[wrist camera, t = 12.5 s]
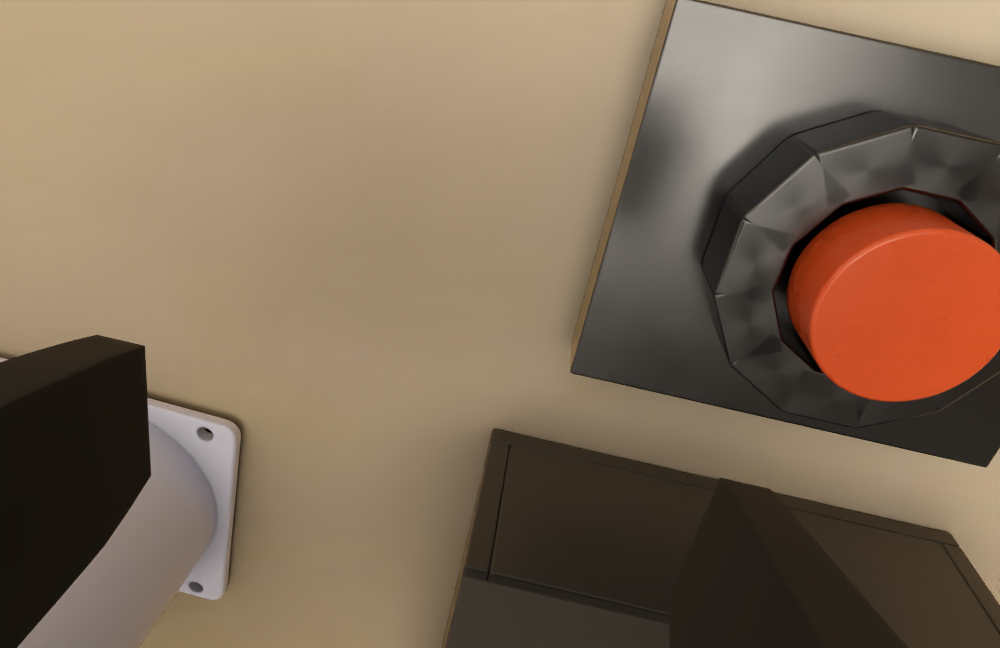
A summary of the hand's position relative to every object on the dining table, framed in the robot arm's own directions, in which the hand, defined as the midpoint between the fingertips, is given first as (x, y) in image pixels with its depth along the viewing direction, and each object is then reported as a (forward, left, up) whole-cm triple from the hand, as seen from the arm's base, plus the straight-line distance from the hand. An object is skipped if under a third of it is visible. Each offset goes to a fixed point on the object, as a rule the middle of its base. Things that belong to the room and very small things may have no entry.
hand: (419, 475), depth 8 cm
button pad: (+8, +2, -10) cm, 13 cm away
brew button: (+8, +2, -7) cm, 11 cm away
